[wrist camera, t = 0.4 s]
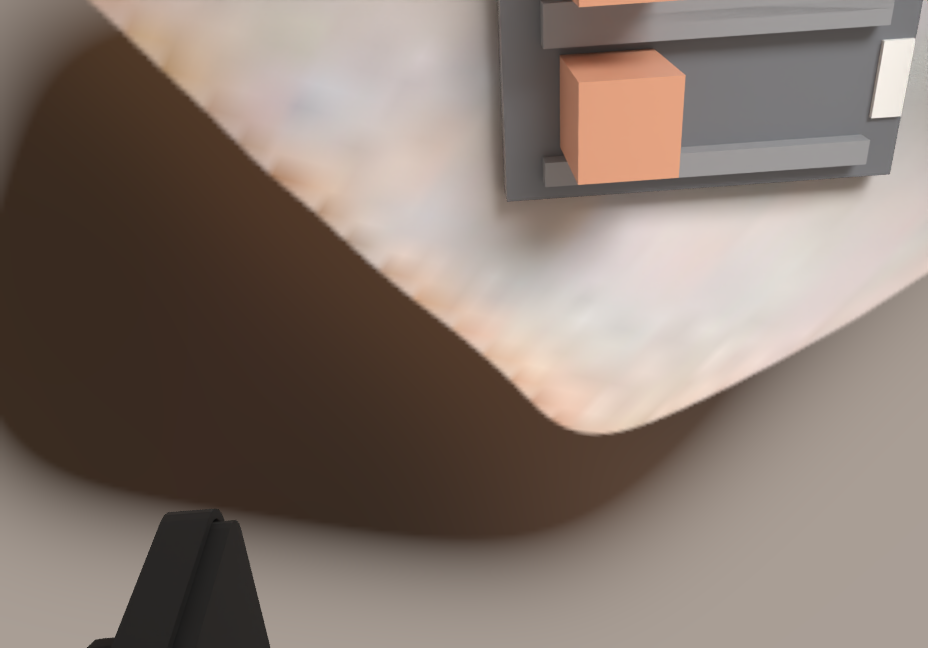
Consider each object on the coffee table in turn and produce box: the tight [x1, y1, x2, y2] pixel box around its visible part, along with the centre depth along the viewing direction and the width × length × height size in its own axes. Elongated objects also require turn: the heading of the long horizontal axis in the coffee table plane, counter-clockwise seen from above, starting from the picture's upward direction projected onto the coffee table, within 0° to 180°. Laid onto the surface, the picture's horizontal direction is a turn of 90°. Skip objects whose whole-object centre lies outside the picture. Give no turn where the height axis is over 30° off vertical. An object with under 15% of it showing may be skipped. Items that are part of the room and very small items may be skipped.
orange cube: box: [560, 48, 686, 185], centre depth 31 cm, size 4×4×4 cm
